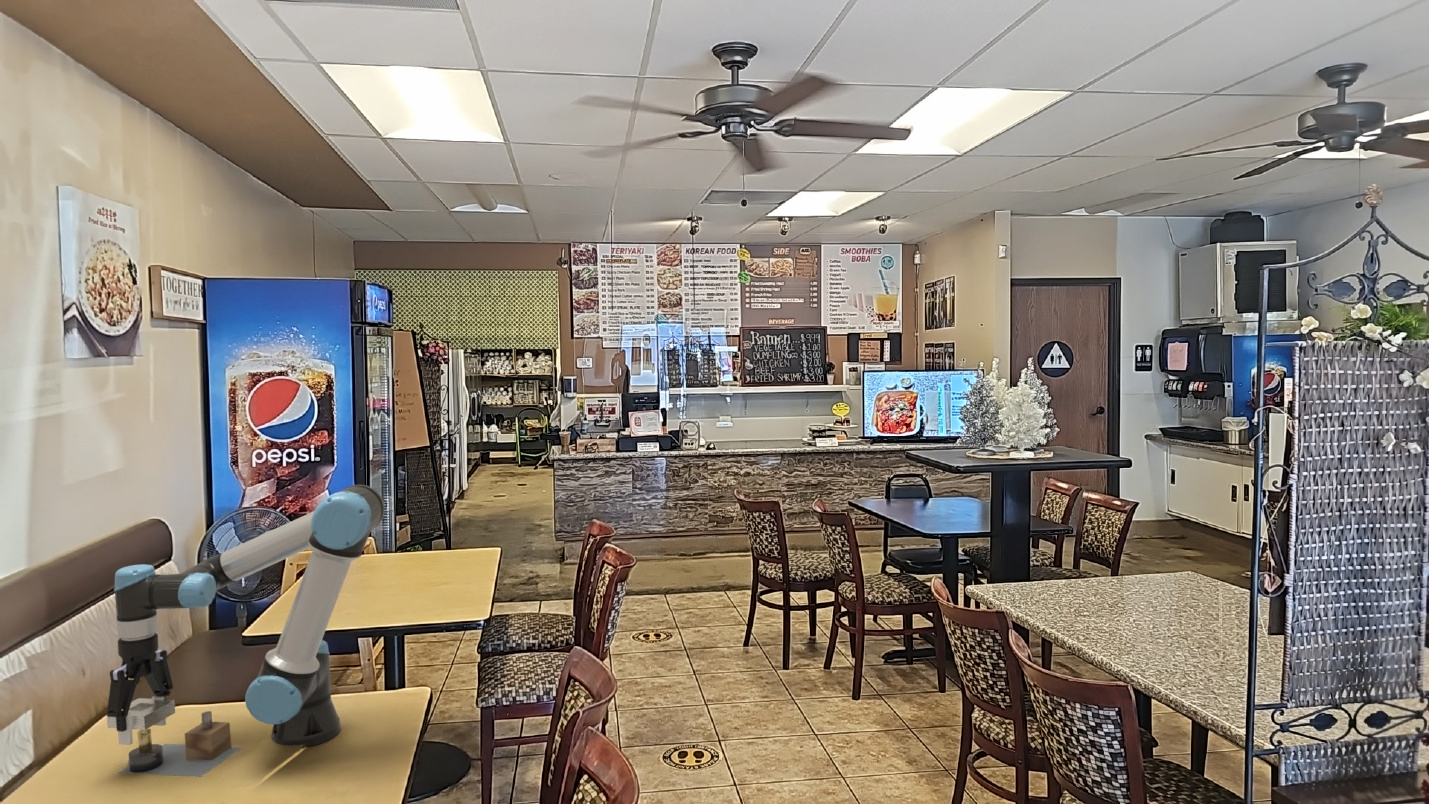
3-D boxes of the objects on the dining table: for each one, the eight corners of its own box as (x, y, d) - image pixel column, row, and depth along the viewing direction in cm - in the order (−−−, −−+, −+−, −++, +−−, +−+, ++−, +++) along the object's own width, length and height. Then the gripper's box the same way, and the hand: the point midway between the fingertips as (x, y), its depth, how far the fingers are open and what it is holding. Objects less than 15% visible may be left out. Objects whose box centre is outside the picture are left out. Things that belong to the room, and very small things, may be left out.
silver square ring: (175, 712, 202) (174, 699, 202) (144, 729, 193) (144, 716, 193) (139, 710, 203) (138, 698, 203) (107, 727, 194) (106, 714, 194)
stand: (231, 747, 207) (228, 707, 207) (212, 760, 201) (209, 719, 200) (206, 746, 208) (203, 706, 208) (186, 759, 202) (183, 718, 201)
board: (243, 751, 207) (242, 747, 207) (200, 781, 193) (200, 776, 193) (165, 747, 210) (165, 743, 210) (118, 776, 196) (118, 772, 196)
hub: (170, 759, 202) (167, 725, 201) (148, 773, 195) (146, 738, 195) (144, 758, 203) (142, 724, 202) (122, 771, 196) (119, 736, 196)
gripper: (159, 619, 208) (164, 713, 210) (81, 651, 187) (87, 755, 188) (188, 620, 207) (193, 714, 209) (113, 653, 186) (119, 757, 187)
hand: (143, 734), depth 198 cm, fingers closed on silver square ring, 9 cm apart
